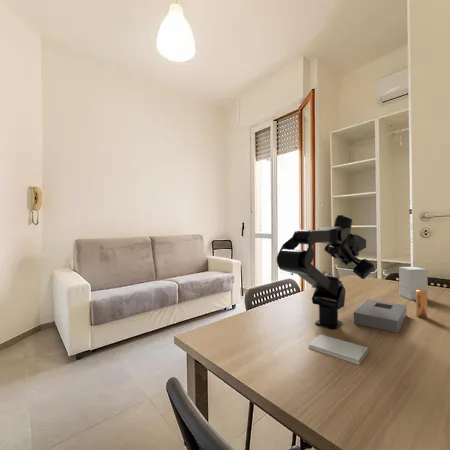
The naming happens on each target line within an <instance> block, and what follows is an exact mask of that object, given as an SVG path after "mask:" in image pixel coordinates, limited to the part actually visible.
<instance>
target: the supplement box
mask: <svg viewBox="0 0 450 450" xmlns="http://www.w3.org/2000/svg"><path fill="white" fill-rule="evenodd" d="M398 277H399V278H398V279H399V280H398V282H399V286H398V287H399V291H398V292H399V296H402V297H403V298H406V299H408V300H411V301H412V300H415V301H416V290H417V289H420V290H426V291H427V300H428V299H429V298H428V297H429V294H428V292H429V289H428V284H429V283H428V269H427V268H421V267H418V266H399V267H398Z"/></svg>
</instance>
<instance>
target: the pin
mask: <svg viewBox="0 0 450 450" xmlns="http://www.w3.org/2000/svg"><path fill="white" fill-rule="evenodd" d="M415 317H417V318H420V319H427V318H428V299H427V291H426V290H420V289H417V290H416V300H415Z"/></svg>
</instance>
